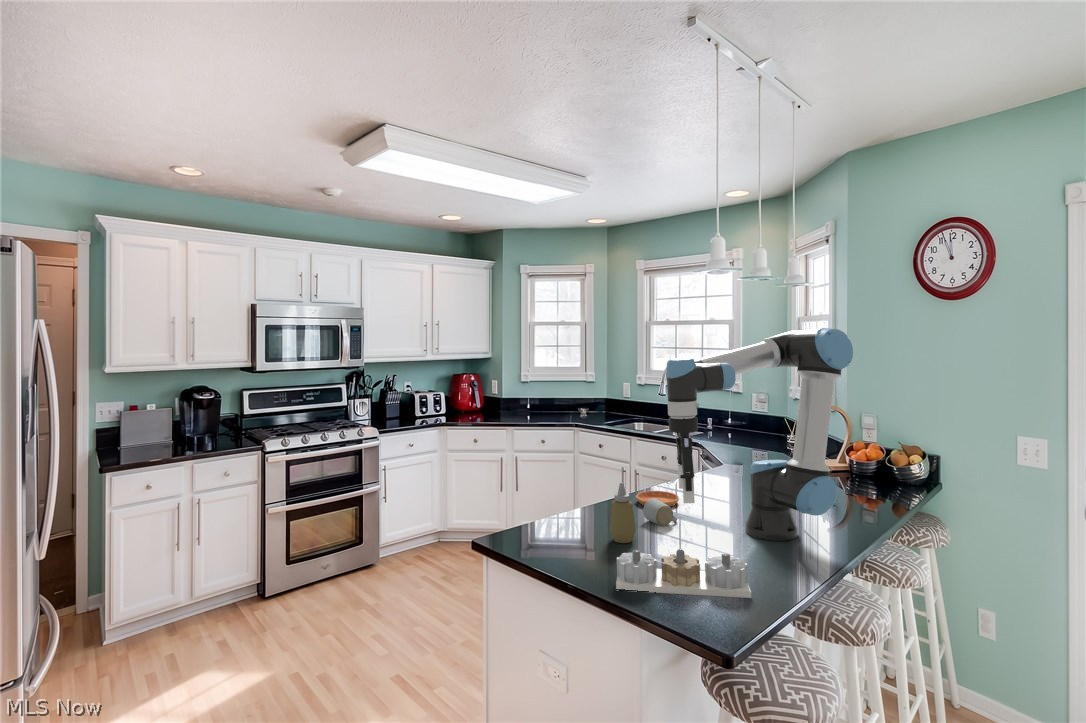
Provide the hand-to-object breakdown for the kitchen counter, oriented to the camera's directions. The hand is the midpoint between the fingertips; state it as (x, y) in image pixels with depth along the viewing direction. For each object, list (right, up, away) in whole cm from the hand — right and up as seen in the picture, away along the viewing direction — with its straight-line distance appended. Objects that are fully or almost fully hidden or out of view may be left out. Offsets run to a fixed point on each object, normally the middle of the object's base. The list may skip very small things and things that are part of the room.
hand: (686, 495), depth 149 cm
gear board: (-3, -21, -8) cm, 22 cm away
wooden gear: (-4, -19, -8) cm, 21 cm away
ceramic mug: (+2, -19, +40) cm, 45 cm away
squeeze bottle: (-14, -20, +24) cm, 34 cm away
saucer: (+5, -19, +63) cm, 66 cm away
